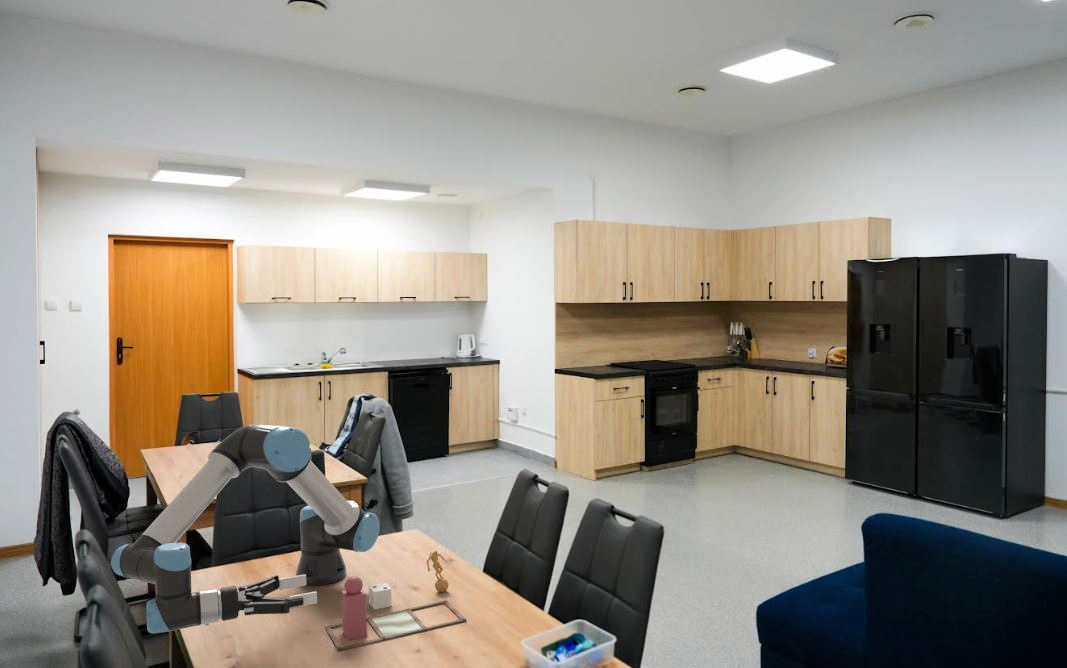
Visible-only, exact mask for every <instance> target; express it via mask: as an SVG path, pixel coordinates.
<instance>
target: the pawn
mask: <svg viewBox="0 0 1067 668" xmlns="http://www.w3.org/2000/svg"><path fill="white" fill-rule="evenodd" d="M363 586H364V584H363V580H362V579H361V578H360V577H359V576H357V575H352V576H349V577H348V578H347V579H346V580H345V582H344V586H343V587H344V590H341V608H342V615H341V616H342V623H343V626H342V633H343V635H344V636H345V638H346V640H348V641H350V640H354V639H358V638H364V637H366V636H368V621H367V593H366V592H365V590H364V589H363Z"/></svg>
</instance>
